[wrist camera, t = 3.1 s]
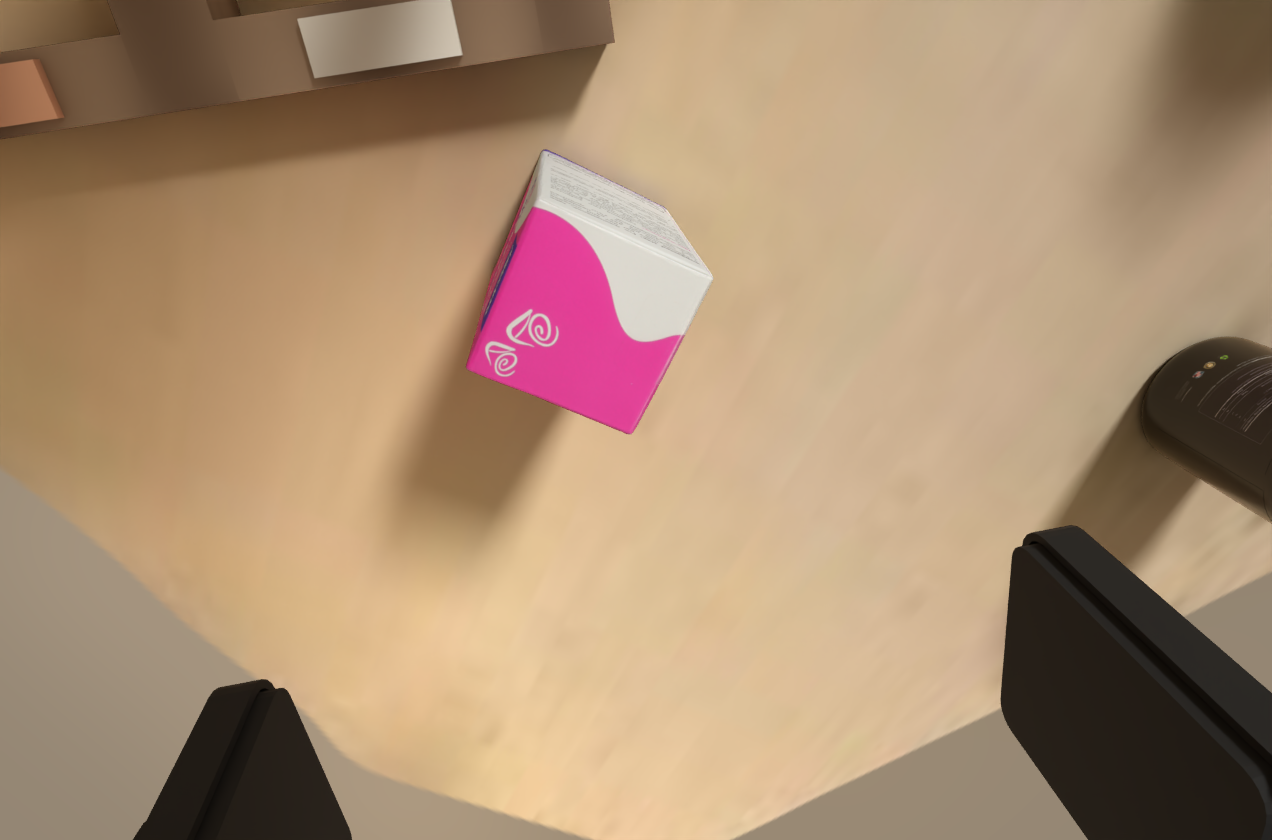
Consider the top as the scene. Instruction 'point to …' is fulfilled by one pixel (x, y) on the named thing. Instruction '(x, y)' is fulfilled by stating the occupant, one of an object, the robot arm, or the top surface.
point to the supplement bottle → (1217, 417)
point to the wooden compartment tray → (271, 53)
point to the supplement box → (588, 296)
